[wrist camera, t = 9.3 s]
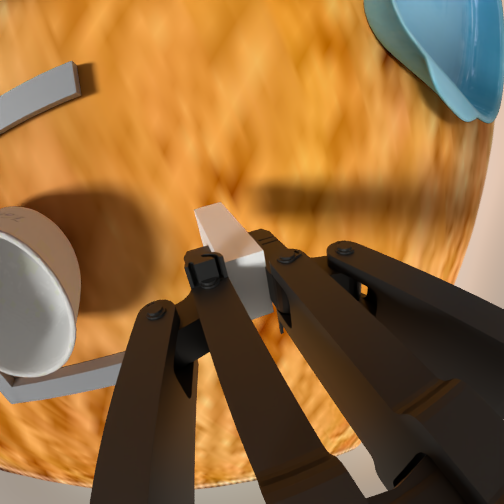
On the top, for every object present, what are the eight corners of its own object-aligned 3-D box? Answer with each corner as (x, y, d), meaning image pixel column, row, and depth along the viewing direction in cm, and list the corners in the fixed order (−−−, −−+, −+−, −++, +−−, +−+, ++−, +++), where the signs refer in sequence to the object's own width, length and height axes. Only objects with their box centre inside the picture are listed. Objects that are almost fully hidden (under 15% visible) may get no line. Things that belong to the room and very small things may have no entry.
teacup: (44, 167, 16) (-7, 187, 9) (118, 281, 22) (110, 346, 15) (-48, 261, 15) (-91, 306, 8) (19, 347, 20) (-2, 408, 13)
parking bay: (76, 65, 14) (71, 60, 13) (172, 358, 26) (173, 369, 25) (-94, 178, 10) (-103, 182, 8) (14, 394, 21) (11, 403, 20)
